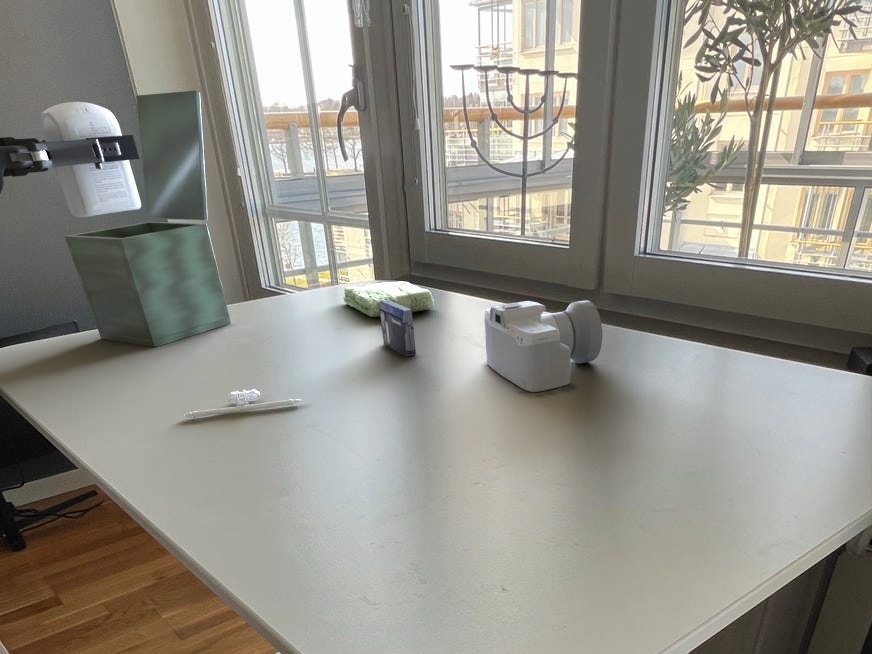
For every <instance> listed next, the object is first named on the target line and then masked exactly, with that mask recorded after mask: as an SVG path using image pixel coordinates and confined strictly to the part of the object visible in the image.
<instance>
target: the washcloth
mask: <svg viewBox="0 0 872 654" xmlns="http://www.w3.org/2000/svg"><path fill="white" fill-rule="evenodd" d="M343 292H344V293H343V294H344V296H343V302H344V303H345V304H347V305H349V306H350V308H351V307H352V308H354V309H355V310H357V311H359V312H360V313H363V314H365V315H366V316H369V317H371V318H376V317H377V318H379V317H381V316H380V302H381V301H386V300H389V301H392V302H394V303H397V304H399V305H401V306H404V307H406V308H408V309H411V310H412V313H415V312H420V311H429V310H430V309H432V308H433V307H434V304H435V299H434V296H433V293H432V292H430V290H428V289H426V288H421V287H420V286H419V285H418V286H417V285H413V284H411V283H410V282H408V281H392V282H391V281H383V282H380V283H369V284H366V285H364V286H353V285H352V286H351V285H350V286H347V287H345V288H344V291H343Z"/></svg>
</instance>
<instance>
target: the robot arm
mask: <svg viewBox="0 0 872 654" xmlns="http://www.w3.org/2000/svg"><path fill="white" fill-rule="evenodd" d="M140 159H141V158H140V155H139V152H138V148H137V145H136V141H135V137H134V135H133V134H125V135H123V134H122V136H108V137H94V138H86V140H72V141H57V142H46V140H45V139H42V140H41V141H40V140H38V139H37V138H35V137H30V138H29V137H28V138H27V137H25V138H15V137H13V136H3V137H2V136H1V137H0V194H1V193H2V191H3V189H4V185H5V178H6V177H13V178H14V177H24V176H25V177H26V176H27V175H28V174H31V173H32V174H33V173H43V172H47V171H49V168H55V167H58V166H68V165H78V164H89V163H94V164H95V167H96V169H103V168H102V163H104V162H114V161H124V160H129V161H132V160H140Z"/></svg>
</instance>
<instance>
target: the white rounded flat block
mask: <svg viewBox="0 0 872 654" xmlns="http://www.w3.org/2000/svg"><path fill="white" fill-rule="evenodd" d="M40 127H41V131H42V135H43V137H44V140H46V142H57V141H72V140H86V138H94V137H108V136H123V134H122V131H121V128H120V123H119V122H118V120H117V118H116V116H115V115H114V113H113V112H112V111H111V110H109V109H107V108H106V107H104V106H100V105H98V104H95V103H91V102H85V101H68V102H61V103H58V104H55V105H52V106H50V107H47V108H46V109H45V110H43V111H42V112H41V114H40ZM102 168H103V169H96V167H95V164H94V163H89V164H78V165H68V166H58V167H54V170H55V173H56V175H57V179H58V182H59V185H60V187H61V190H62V193H63V196H64V199H65V202H66V205H67V208H68V210H69V213H70V214H71V215H72V216H73V217H75V218H88V217H95V216H100V215H107V214H114V213H120V212H127V211H135V210H140V209H141V207H142V202H141V199H140V194H139V192H138V191H139V190H138V188H137V185H136V180H135V177H134V172H133V170H132V166H131V163H130V160H124V161H114V162H104V163H102Z"/></svg>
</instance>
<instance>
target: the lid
mask: <svg viewBox="0 0 872 654" xmlns="http://www.w3.org/2000/svg"><path fill="white" fill-rule="evenodd" d="M135 96H136V107H137V117H138V128H139V129H138V130H139V137H140V138H139V139H140V141H139V142H140V150H141V161H142V162H141V163H142V172H143V181H144V192H145V203H146V214H147V219H150V220H151V219H153V220H175V221H177V220H178V221H199V222H200V221H202V222H208V220H209V217H208V216H209V215H208V203H207V202H208V201H207V184H206V171H205V155H204V153H205V152H204V137H203V136H204V135H203V121H202V108H201V107H202V106H201V105H202V104H201V92H200V91H198V90H185V91H172V92H163V93H162V92H161V93H160V92H159V93H148V94H140V95H139V94H137V95H135Z"/></svg>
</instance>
